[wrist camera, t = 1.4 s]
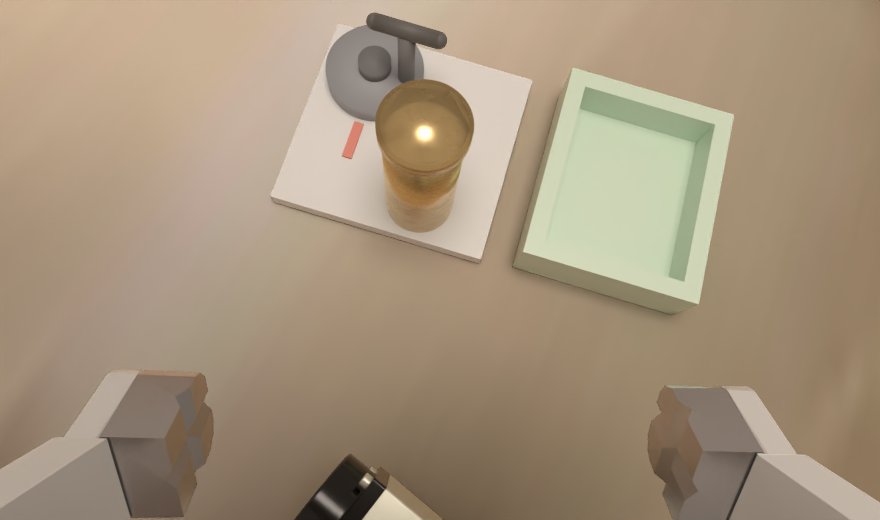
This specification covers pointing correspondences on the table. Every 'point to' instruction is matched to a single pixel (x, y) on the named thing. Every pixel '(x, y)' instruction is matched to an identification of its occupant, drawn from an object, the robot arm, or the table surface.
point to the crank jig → (355, 144)
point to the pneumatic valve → (364, 496)
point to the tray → (626, 193)
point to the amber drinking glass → (422, 151)
